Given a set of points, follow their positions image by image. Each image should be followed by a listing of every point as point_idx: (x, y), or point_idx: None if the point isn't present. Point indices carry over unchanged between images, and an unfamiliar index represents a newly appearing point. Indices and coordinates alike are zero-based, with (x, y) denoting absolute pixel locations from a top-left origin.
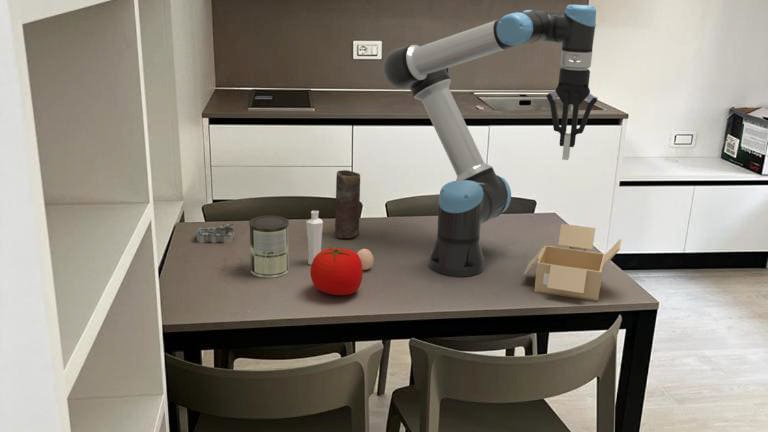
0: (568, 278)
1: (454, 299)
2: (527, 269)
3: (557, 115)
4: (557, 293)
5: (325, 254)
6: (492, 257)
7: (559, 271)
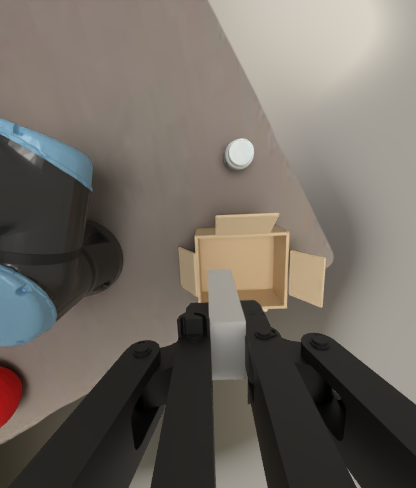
0: None
1: (123, 348)
2: (184, 285)
3: (99, 475)
4: None
5: None
6: (118, 200)
7: None
